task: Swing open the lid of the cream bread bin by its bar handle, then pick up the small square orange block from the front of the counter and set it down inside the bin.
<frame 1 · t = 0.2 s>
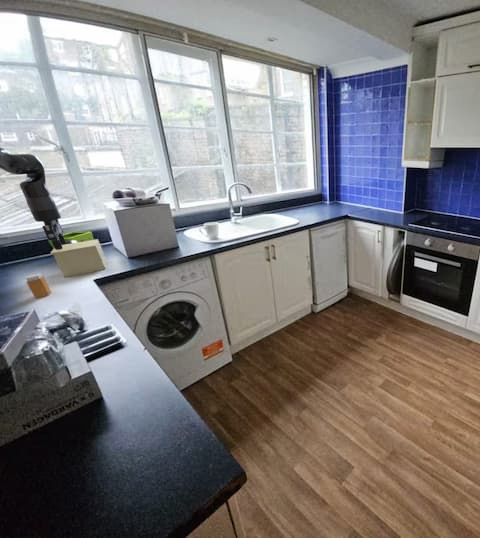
hand: (61, 246, 123), 19 cm above the table, tool pointing down, fingers open, 8 cm apart
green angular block: (79, 256, 169), on the table
medicine bottle: (78, 262, 159), on the table
bread bin: (86, 268, 150), on the table
lid: (73, 241, 144), point 15 cm above the table, hinge at 0.0°
orange block: (43, 294, 124), on the table
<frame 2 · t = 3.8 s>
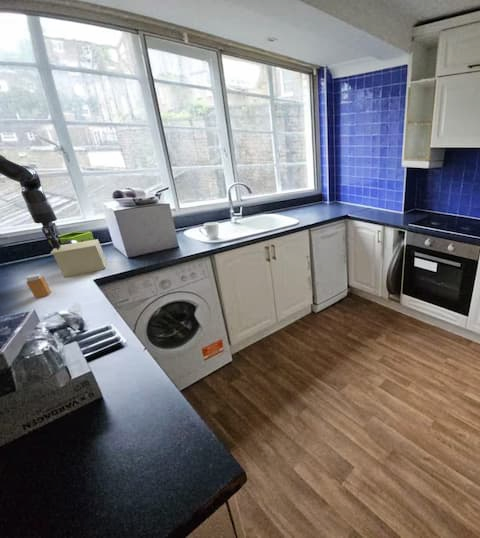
hand: (58, 246, 141), 14 cm above the table, tool pointing down, fingers closed on lid, 5 cm apart
lid: (73, 241, 144), point 15 cm above the table, hinge at 0.0°, touching gripper
everything else where it was.
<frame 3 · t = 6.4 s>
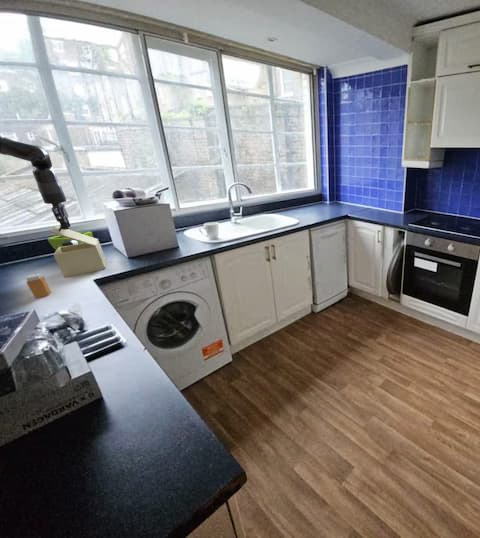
hand: (66, 228, 141), 22 cm above the table, tool pointing down, fingers closed on lid, 5 cm apart
lid: (78, 231, 144), point 19 cm above the table, hinge at 37.4°, touching gripper
everything else where it was.
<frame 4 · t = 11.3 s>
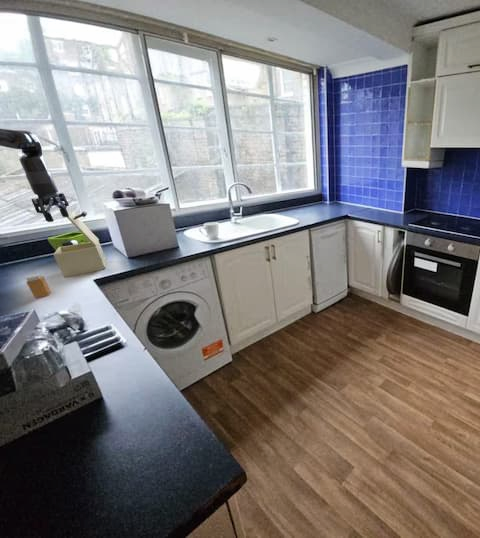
hand: (58, 219, 131), 28 cm above the table, tool pointing down, fingers open, 8 cm apart
lid: (89, 226, 146), point 21 cm above the table, hinge at 70.9°, touching gripper
everything else where it was.
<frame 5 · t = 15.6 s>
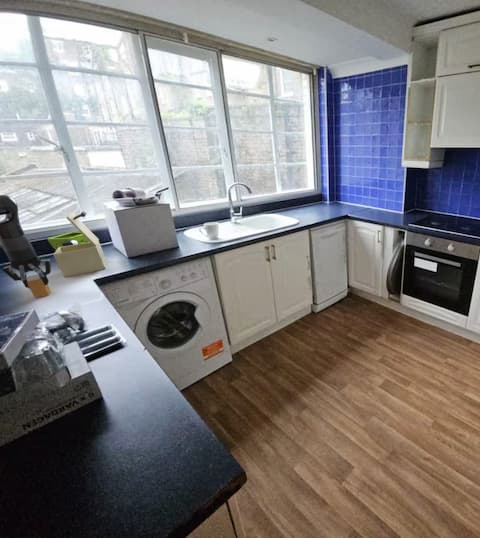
hand: (38, 285, 122), 4 cm above the table, tool pointing down, fingers closed on orange block, 4 cm apart
lid: (89, 226, 146), point 21 cm above the table, hinge at 69.9°
orange block: (43, 294, 124), on the table, touching gripper
everything else where it was.
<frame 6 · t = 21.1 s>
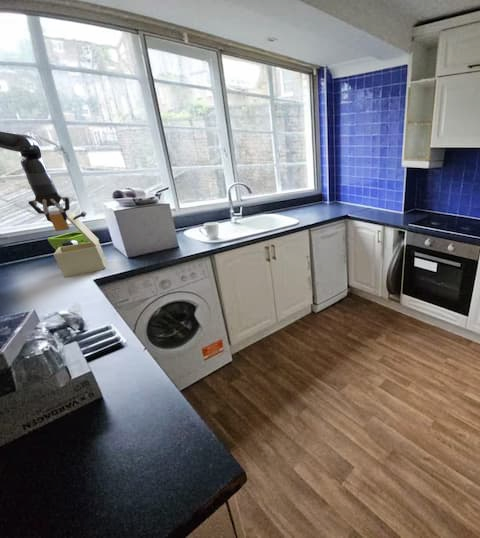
hand: (58, 220, 138), 26 cm above the table, tool pointing down, fingers closed on orange block, 4 cm apart
lid: (89, 226, 146), point 21 cm above the table, hinge at 69.9°, touching gripper
orange block: (62, 229, 139), point 21 cm above the table, touching gripper
everything else where it was.
when the fingers open (7 cm above the table, at t = 32.4 s): orange block drops 2 cm, resting on bread bin.
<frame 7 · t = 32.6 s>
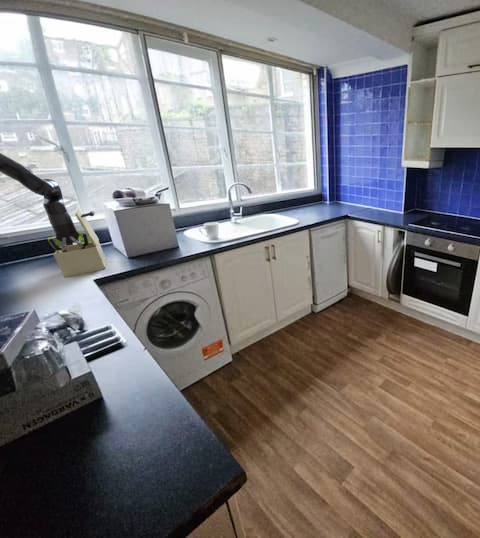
hand: (76, 255, 146), 8 cm above the table, tool pointing down, fingers open, 5 cm apart
lid: (93, 226, 147), point 21 cm above the table, hinge at 82.1°
orange block: (82, 268, 149), point 1 cm above the table, touching bread bin
everything else where it was.
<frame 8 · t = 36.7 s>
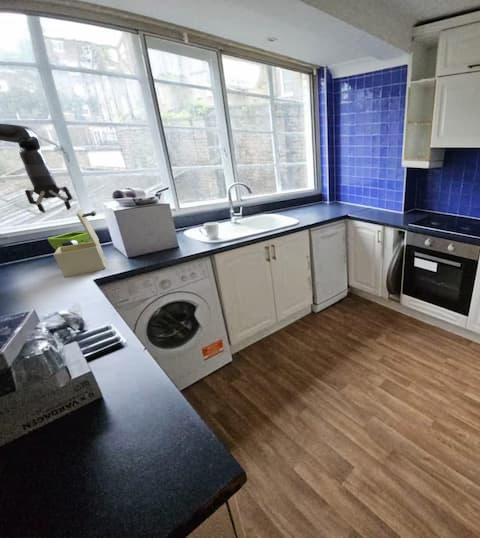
hand: (56, 211, 137), 30 cm above the table, tool pointing down, fingers open, 8 cm apart
lid: (94, 226, 147), point 21 cm above the table, hinge at 84.1°
everything else where it was.
at the end: lid at +84° (first picture: +0°); orange block inside the target area in the bread bin (1.5 cm from its centre), point 0.8 cm above the bread bin's base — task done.
